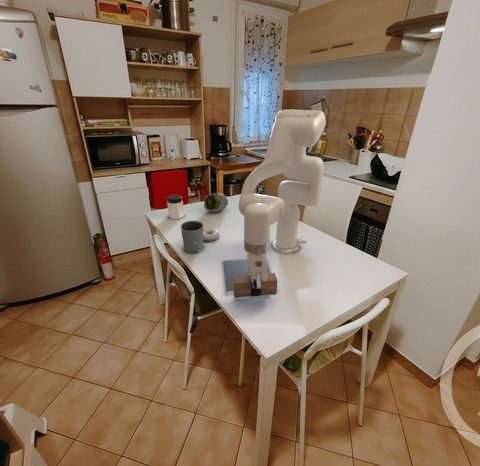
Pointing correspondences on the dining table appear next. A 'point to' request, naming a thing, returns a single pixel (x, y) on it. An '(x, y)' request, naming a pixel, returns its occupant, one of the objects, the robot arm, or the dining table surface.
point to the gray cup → (192, 236)
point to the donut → (210, 234)
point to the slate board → (235, 271)
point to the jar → (175, 206)
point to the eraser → (244, 283)
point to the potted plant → (215, 202)
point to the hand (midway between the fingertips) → (254, 290)
